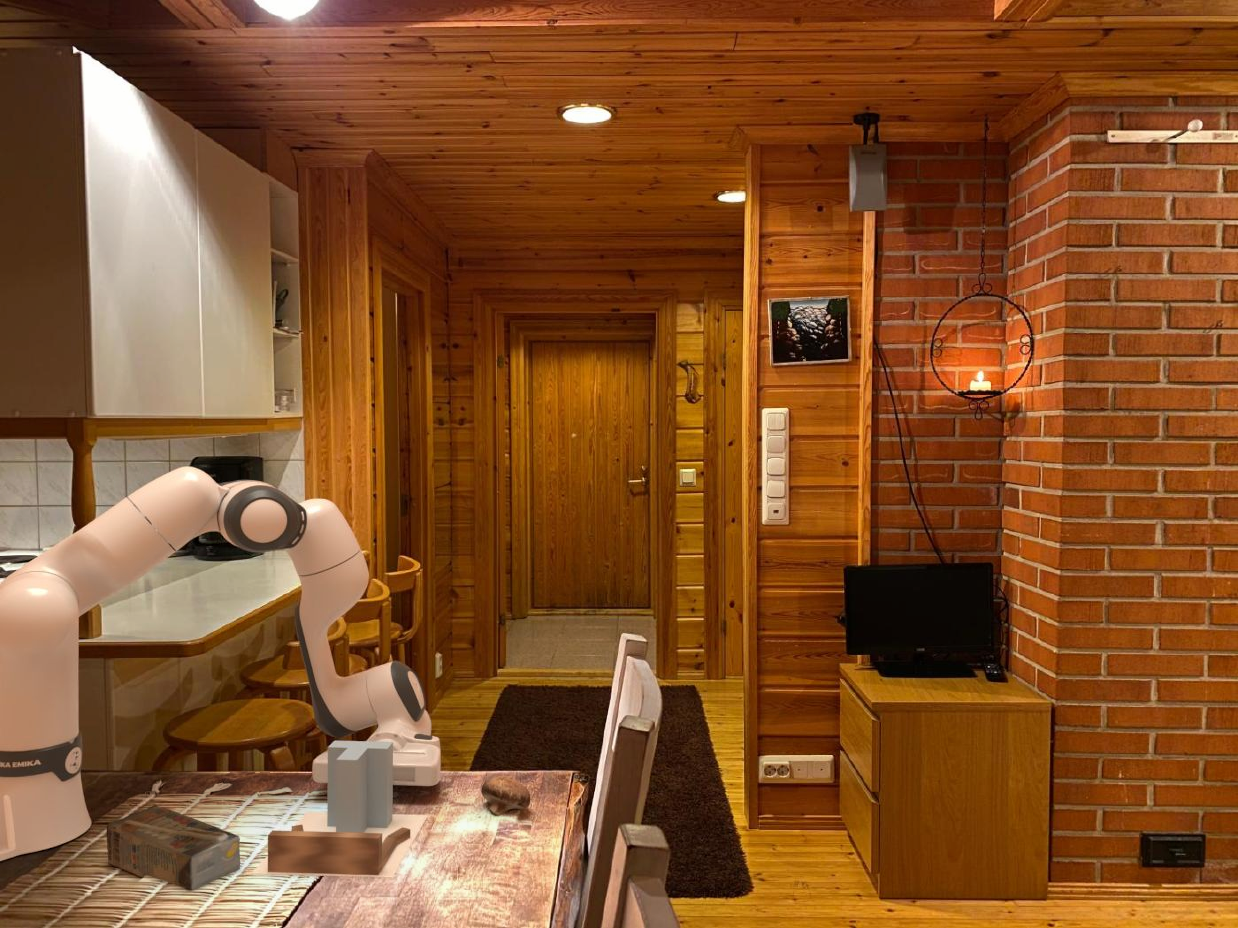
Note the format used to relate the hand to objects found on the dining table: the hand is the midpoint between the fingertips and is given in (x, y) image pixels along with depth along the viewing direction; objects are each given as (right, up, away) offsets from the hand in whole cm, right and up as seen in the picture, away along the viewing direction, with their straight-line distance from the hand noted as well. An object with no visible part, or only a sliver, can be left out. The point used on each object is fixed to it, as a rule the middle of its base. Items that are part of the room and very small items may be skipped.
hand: (364, 785), depth 140 cm
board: (0, -6, -9) cm, 11 cm away
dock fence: (0, -5, -13) cm, 14 cm away
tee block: (0, -5, -5) cm, 7 cm away
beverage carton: (-22, -6, -16) cm, 28 cm away
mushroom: (+21, -6, +5) cm, 23 cm away
